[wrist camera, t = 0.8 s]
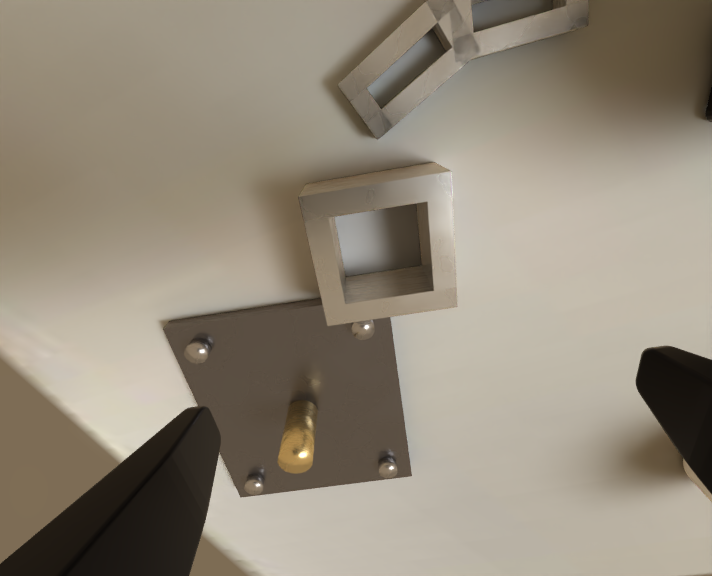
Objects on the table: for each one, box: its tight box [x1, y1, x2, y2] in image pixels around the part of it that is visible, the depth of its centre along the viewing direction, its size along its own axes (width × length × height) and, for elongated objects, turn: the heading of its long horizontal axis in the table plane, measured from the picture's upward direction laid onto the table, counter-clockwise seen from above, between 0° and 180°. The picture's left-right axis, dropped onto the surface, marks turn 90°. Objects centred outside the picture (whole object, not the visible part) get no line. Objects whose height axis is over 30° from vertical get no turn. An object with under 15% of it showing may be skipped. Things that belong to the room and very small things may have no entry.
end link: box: [298, 162, 457, 326], centre depth 17 cm, size 6×6×3 cm
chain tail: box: [338, 0, 589, 139], centre depth 14 cm, size 10×5×1 cm, turn 99°
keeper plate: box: [163, 298, 412, 497], centre depth 21 cm, size 12×14×4 cm
